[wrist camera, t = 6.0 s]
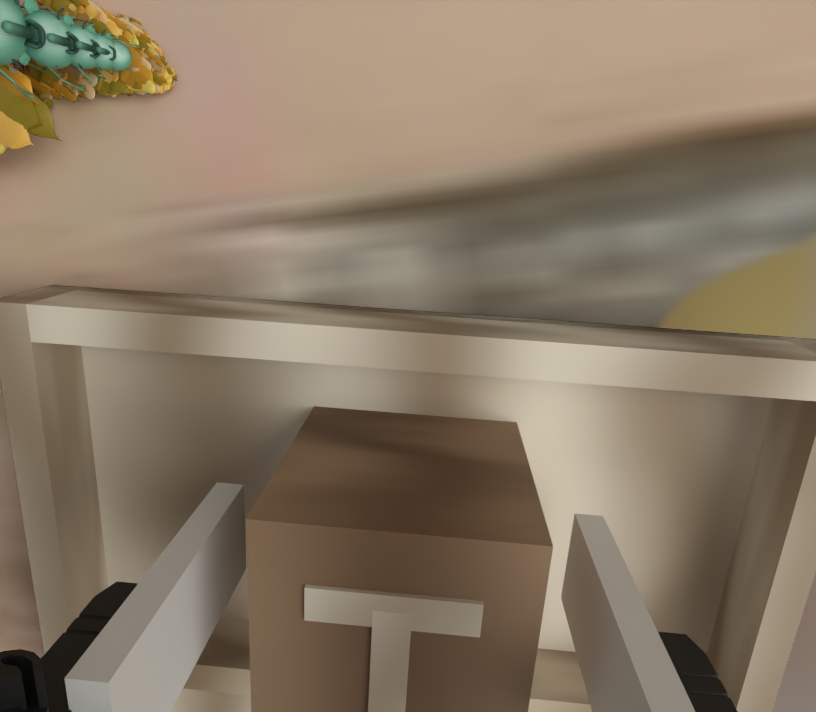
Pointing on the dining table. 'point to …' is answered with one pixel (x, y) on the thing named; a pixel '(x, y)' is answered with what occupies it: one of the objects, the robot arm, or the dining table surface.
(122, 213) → the dining table surface
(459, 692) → the letter cube
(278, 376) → the tray
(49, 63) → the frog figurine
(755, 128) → the dining table surface
